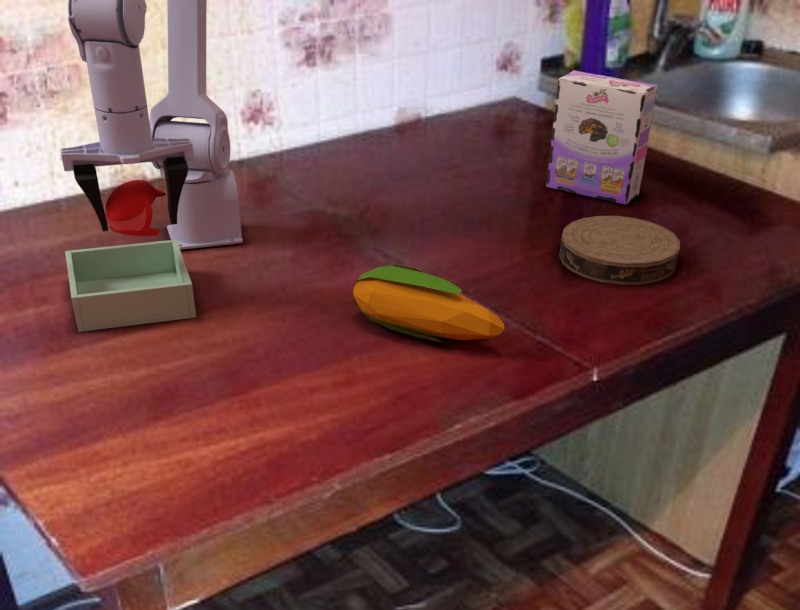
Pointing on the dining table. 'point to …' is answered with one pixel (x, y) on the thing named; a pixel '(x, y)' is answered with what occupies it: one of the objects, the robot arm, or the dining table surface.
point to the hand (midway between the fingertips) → (139, 224)
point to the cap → (132, 208)
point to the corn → (422, 305)
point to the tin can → (619, 250)
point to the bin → (129, 285)
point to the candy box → (600, 136)
